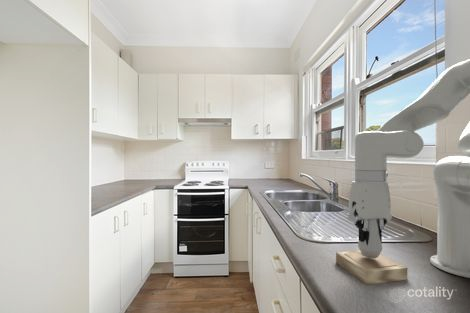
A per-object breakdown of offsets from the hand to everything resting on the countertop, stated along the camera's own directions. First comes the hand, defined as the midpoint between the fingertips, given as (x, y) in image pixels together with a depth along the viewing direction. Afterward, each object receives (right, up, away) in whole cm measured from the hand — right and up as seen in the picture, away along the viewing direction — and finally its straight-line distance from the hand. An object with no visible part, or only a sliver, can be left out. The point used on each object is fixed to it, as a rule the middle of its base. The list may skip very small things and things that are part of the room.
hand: (369, 242), depth 64 cm
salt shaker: (0, -4, 0) cm, 4 cm away
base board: (0, -8, 0) cm, 8 cm away
